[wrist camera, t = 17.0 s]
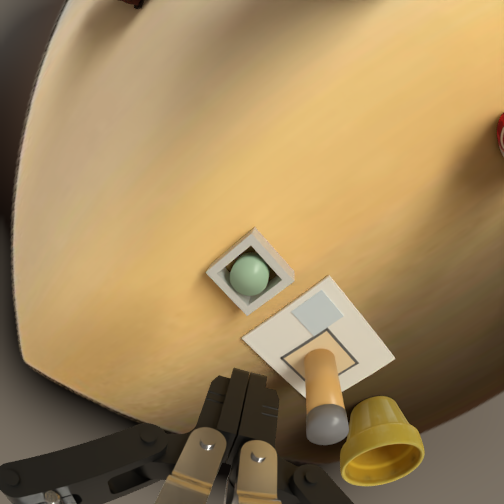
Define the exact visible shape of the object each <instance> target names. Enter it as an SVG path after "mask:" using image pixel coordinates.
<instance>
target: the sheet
mask: <svg viewBox="0 0 504 504" xmlns="http://www.w3.org/2000/svg"><path fill="white" fill-rule="evenodd" d="M242 339H243V340H244V341H245V342H246V343H247V344H248V345H249V346H250V347H251V348H252V349H253V350H254V351H255V352H256V353H257V354H258V355H259V356H260V357H262V358H263V359H264V360H265V361H266V362H267V363H268V364H269V365H270V366H271V367H272V368H273V369H274V370H275V371H276V372H277V373H279V374H280V375H281V376H282V377H283V378H284V379H285V380H286V381H287V382H288V383H289V384H291V385H292V386H293V387H294V388H295V389H296V390H297V391H298V392H299V393H300V394H302V395H303V396H304V397H305V398H306V387H305V369H304V359H305V357H306V355H307V354H308V353H309V352H311V351H313V350H315V349H327V350H329V351H331V352H332V353H333V354H334V356H335V361H336V366H337V371H338V376H339V381H340V386H341V392H342V391H344V390H346V389H347V388H349V387H351V386H353V385H354V384H356V383H358V382H359V381H361V380H363V379H364V378H366V377H368V376H369V375H371V374H372V373H374V372H376V371H377V370H379V369H380V368H382V367H383V366H385V365H387V364H388V363H390V362H391V361H393V360H394V359H395V357H394V356H393V354H392V353H391V352H390V350H389V349H388V348H387V347H386V345H385V344H384V343H383V341H382V340H381V339H380V338H379V336H378V335H377V334H376V332H375V331H374V330H373V329H372V327H371V326H370V325H369V324H368V322H367V321H366V320H365V318H364V317H363V316H362V315H361V313H360V312H359V311H358V310H357V308H356V307H355V306H354V305H353V303H352V302H351V301H350V300H349V299H348V297H347V296H346V295H345V294H344V292H343V291H342V290H341V289H340V287H339V286H338V285H337V284H336V283H335V281H334V280H333V279H332V278H331V277H330V275H328V276H326V277H325V278H324V279H322V280H321V281H320V282H318V283H317V284H316V285H314V286H313V287H311V288H310V289H309V290H307V291H306V292H305V293H303V294H302V295H301V296H299V297H298V298H296V299H295V300H294V301H292V302H291V303H289V304H288V305H287V306H285V307H284V308H282V309H281V310H280V311H278V312H277V313H275V314H274V315H273V316H271V317H270V318H268V319H267V320H265V321H264V322H263V323H261V324H260V325H258V326H257V327H255V328H254V329H252V330H251V331H250V332H248V333H247V334H245V335H244V336H242Z"/></svg>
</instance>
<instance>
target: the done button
mask: <svg viewBox="0 0 504 504" xmlns="http://www.w3.org/2000/svg"><path fill="white" fill-rule="evenodd" d="M269 273H270V266H269V265H268V264H267V263H266V262H265V260H264V259H263V258H262V257H261V256H260V255H259V254H258V253H256V252H247V253H244V254H242V255H241V256H239V257H238V258H237V260H236V262H235V264H234V266H233V268H232V270H231V272H230V282H231V285H232V286H233V288H234V289H235V290H236V291H237V292H239V293H240V294H243V295H246V296H254V295H257V294H259V293H261V292H262V291H263V290H264V289H265V288H266V286H267V283H268V278H269Z"/></svg>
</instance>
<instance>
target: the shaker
mask: <svg viewBox="0 0 504 504" xmlns="http://www.w3.org/2000/svg"><path fill="white" fill-rule="evenodd" d="M304 369H305V387H306V407H307V416H306V434H307V438H308V440H309V441H310V442H312V443H314V444H318V445H330V444H334V443H337V442H339V441H341V440H343V439H344V438H345V437H346V436H347V435H348V433H349V425H348V420H347V414H346V411H345V409H344V403H343V397H342V392H341V386H340V381H339V376H338V371H337V366H336V361H335V356H334V354H333V353H332V352H331V351H329V350H327V349H315V350H313V351H311V352H309V353H308V354H307V355H306V357H305V359H304Z"/></svg>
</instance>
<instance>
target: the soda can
mask: <svg viewBox="0 0 504 504" xmlns="http://www.w3.org/2000/svg"><path fill="white" fill-rule="evenodd" d="M497 139H498V144H499V148H500V151H501V153H502V155H503V157H504V113H503V114H502V115H501V117H500V119H499V122H498V126H497Z"/></svg>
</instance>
